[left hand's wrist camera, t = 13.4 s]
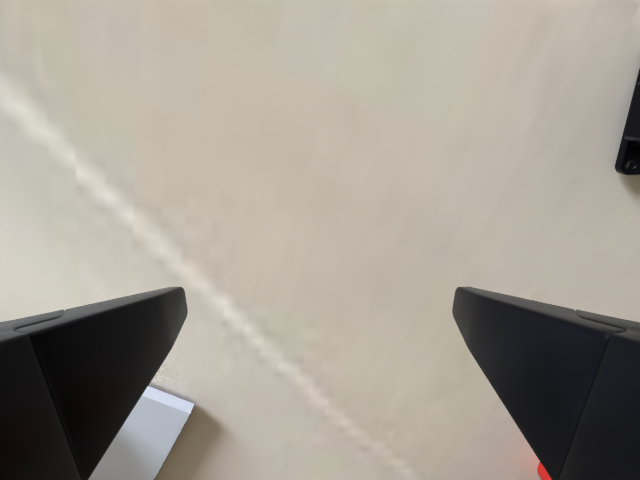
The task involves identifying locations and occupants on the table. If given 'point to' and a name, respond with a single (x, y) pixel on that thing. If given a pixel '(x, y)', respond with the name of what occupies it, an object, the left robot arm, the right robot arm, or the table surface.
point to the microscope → (144, 438)
